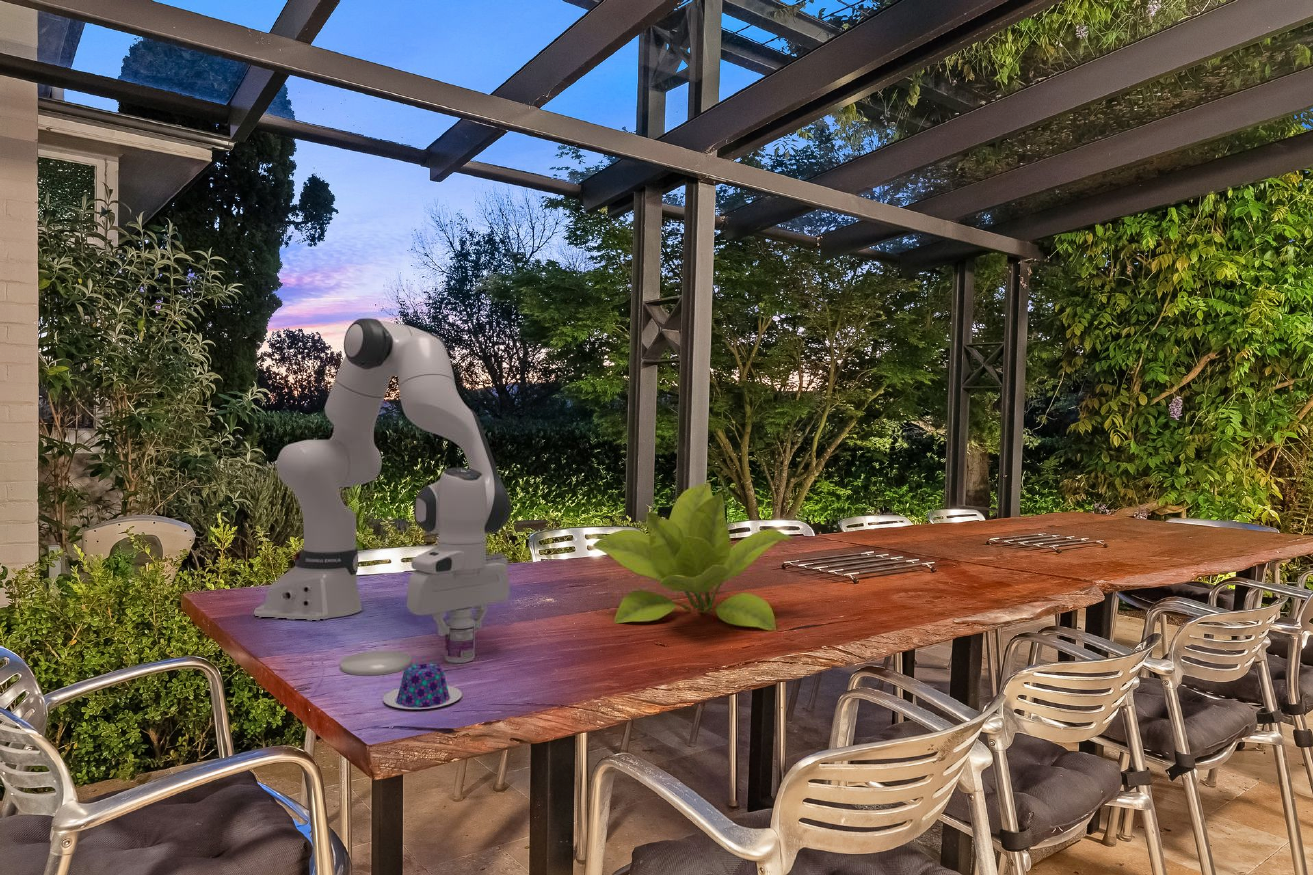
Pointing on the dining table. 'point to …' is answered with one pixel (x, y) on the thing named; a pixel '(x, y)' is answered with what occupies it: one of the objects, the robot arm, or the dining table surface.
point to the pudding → (422, 688)
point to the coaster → (375, 663)
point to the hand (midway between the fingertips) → (460, 632)
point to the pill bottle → (460, 636)
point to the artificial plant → (691, 561)
